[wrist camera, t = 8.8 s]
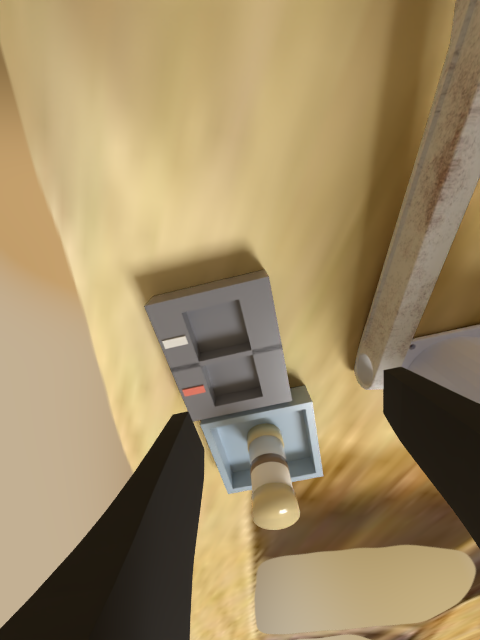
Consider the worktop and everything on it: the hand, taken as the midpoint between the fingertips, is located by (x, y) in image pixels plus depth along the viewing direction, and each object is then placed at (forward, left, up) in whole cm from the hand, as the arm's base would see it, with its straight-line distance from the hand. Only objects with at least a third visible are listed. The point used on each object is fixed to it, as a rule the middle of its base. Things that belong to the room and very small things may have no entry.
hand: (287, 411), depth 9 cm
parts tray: (+2, +12, -10) cm, 16 cm away
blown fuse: (+2, +12, -10) cm, 15 cm away
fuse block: (+3, +2, -10) cm, 11 cm away
